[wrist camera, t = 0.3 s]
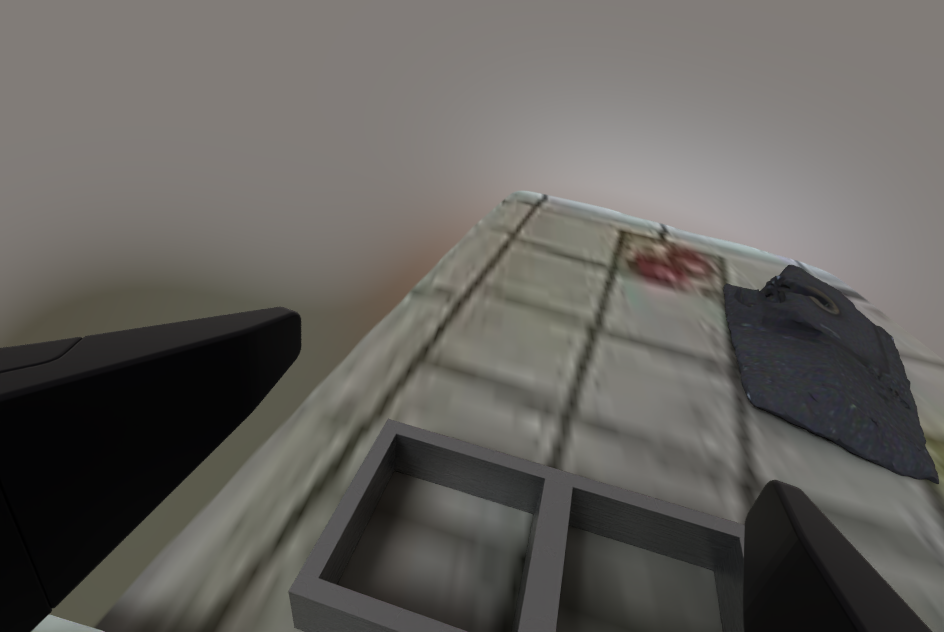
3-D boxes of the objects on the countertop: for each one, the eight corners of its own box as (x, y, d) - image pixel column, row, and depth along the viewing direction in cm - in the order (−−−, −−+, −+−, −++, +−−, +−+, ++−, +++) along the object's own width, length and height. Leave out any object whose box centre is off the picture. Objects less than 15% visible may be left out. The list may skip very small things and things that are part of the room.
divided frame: (770, 806, 18) (813, 782, 16) (294, 627, 21) (288, 591, 19) (727, 561, 26) (753, 527, 24) (386, 455, 28) (387, 418, 27)
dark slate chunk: (701, 409, 36) (728, 358, 33) (720, 285, 53) (739, 245, 50) (951, 507, 31) (1005, 457, 29) (885, 336, 48) (915, 295, 45)
